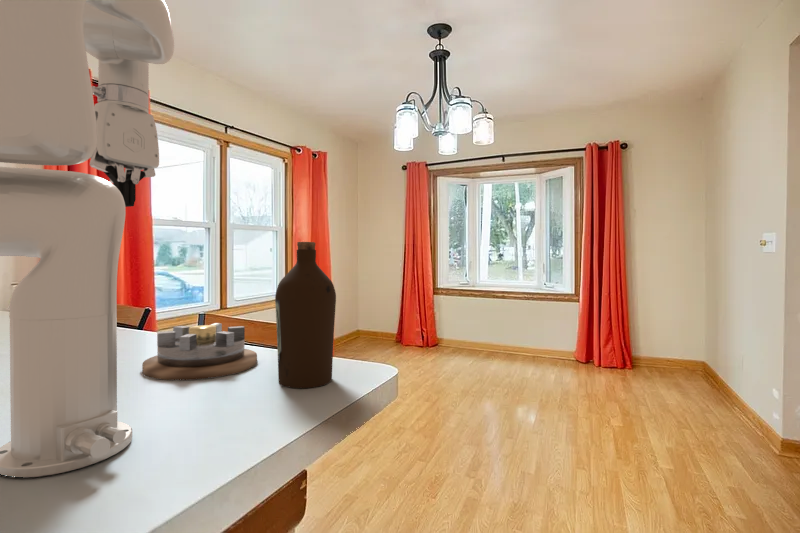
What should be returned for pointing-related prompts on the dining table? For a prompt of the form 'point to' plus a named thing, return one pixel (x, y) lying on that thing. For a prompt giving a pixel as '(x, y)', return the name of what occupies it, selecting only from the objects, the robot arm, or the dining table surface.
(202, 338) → the crenellated turret ring
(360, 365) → the dining table surface
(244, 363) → the board
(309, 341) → the olive oil
